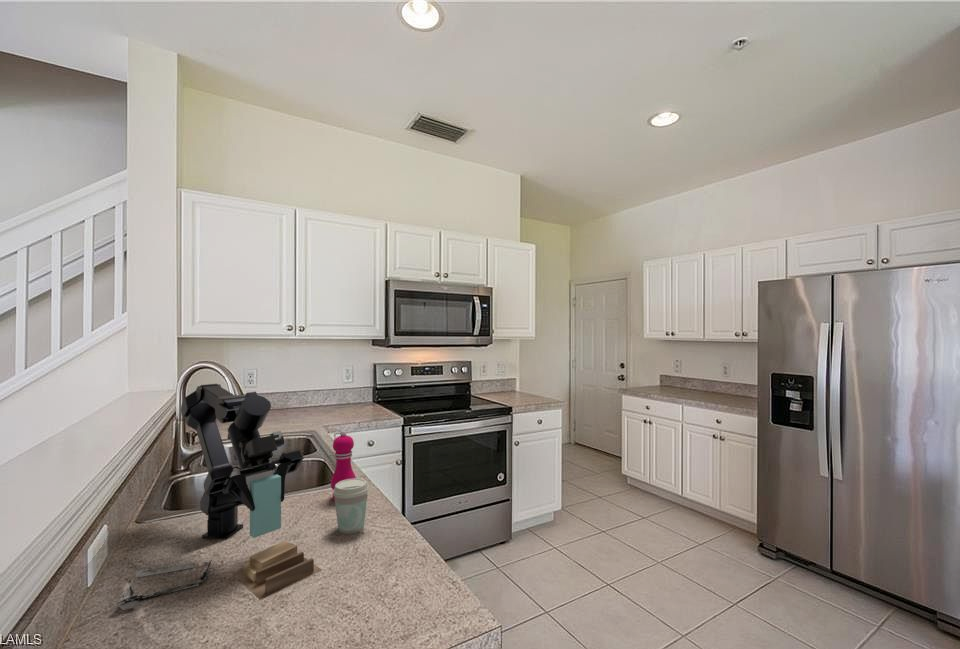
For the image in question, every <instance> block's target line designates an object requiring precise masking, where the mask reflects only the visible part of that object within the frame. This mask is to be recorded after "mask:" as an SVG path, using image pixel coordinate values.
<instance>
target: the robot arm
mask: <svg viewBox="0 0 960 649" xmlns="http://www.w3.org/2000/svg"><path fill="white" fill-rule="evenodd" d="M271 408H272V403H271V401H270V400H268V399H267V398H266V397H264V396H262V395H258V392H257V391H249V392H246V393H245V394H233V393H232V392H230V391H229V390H227V389H225V388H223V387H222V386H221V384H219V383H208V384H200V385H198V386H196V389H195V390H194V391H193V392H191V393H190V394H188V395H186V396H185V397H184V398H183V401H182V403H181V406H180V415H181V417H182V418H184V421H185V424H186V425H187V426H188V427H189V428H192V429H193V430H194V431H196V434H197V439H198V441H199V445H200V448H201V451H202V454H203V458H204V461H205V465H206V468H207V475H206V478H205V479H204V481H203V489H204V492H203V494H202V496H201V498H200V501H199V505H200V511H201V512H202V513H203V514H205V516H207V522H206V523H207V524H206V525H207V527H206V528H207V529H206V530H207V532H205V533H204V534H202V535H201V538H202V539H223V540H224V539H228V538H229V537H231V536H232V535H234V534H235V533H236V532H238V531H239V530H241V529H242V528H244V524H238V522H239V521H238V518H239V516H238V515H239V514H238V510H239V509H238V508H239V506H241V505H244V506H245V507H247V509H249V511H250V510H251V511H254V510H255V505H254V501H253V498H252V496H251V493H250V487H249V485H248V484H247V478H248V477H251V476H255V475H258V474H259V475H260V474H262V473H266V472H272V476H273V475H279V476H281V503H282V502H284V500H285V492H286V491H285V487H286V485H285V484H286V475H288V474H291V473H294V472H296V471H297V470H298V468H299V467H300V465H301V463H302V462H303V460H304V459H305V457H304V455H303V452H302V451H301V450H300V449H297V448H296V449H293V450H289V451H288V450H287V451H284V452H282V453H281V455H280V456H279V458H278V459H275V460H270V459H272V458H273V456H274V453H273V452H275V451H278V448H279V447H282V446H284V444H285V439H284V438H285V437H284V435H283V433H282V431H281V430H278V431H272V433H271V434H269V435H267V436H261V434H260V431H259V429H261V427H263V424H264V423H265V420H266V418H267V416H268V414H269V413H270V410H271ZM217 420H218V421H219V423H221V424H228V423H229V424H230V423H231V424H230V425H229V426H228V428H227V440H230V443H231V446H232V449H233V453H234V454H233V459H234V461H237V465H236V466H232V465H231V464H230V462H229V459H228V455H227V452H226V450H225V446H224V443H223V440H222V436H221V433H220V429H219V427H218V424H217Z"/></svg>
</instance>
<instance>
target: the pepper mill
mask: <svg viewBox="0 0 960 649" xmlns="http://www.w3.org/2000/svg"><path fill="white" fill-rule="evenodd" d="M339 434H340V435H338V436H337V437H335V439H333V443H332V449H333V450H334V458H335V461H336V463H335V469H334V472H333V474H332V477H331V481H330V488H331V489H332V490H334V488H335V485H336V484H337V483H338V482H340V481H343V480H347V479H355V478H356V474H355V472H354V470H353V468H352V461H351V460H352V458H353V457H352V456H353V448H354V446H355V442H354V439H353V437H351V436H350V435H348V434H347V431H346V430H341V431H340V433H339ZM332 500H333V501H334V502H335V498H334V496H333V495H332Z"/></svg>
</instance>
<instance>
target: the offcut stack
mask: <svg viewBox="0 0 960 649" xmlns="http://www.w3.org/2000/svg"><path fill="white" fill-rule="evenodd" d="M297 553H298V545H297V544H294V543H292V542H290V541H287V540H283V541H280V542H279V543H277V544H274V545H272V546H270V547H267V548H266V549H263V550H261V551H259V552H257V553H254V554H253V555H250V556H249V562H246V563H244V564H243V569H244V573H245V574H246V575H247V576H248V577H249V578H250V579H251V580H252V581H253V582H255V581H256V571H257V570H260V569H262V568H264V567H267V566H269V565H272V564H274V563H276V562H279V561H281V560H283V559H286V558H288V557H290V556H293V555H295V554H297Z"/></svg>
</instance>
